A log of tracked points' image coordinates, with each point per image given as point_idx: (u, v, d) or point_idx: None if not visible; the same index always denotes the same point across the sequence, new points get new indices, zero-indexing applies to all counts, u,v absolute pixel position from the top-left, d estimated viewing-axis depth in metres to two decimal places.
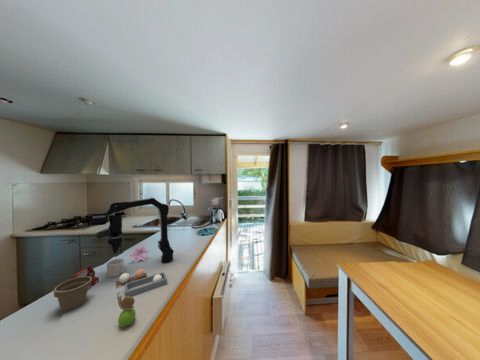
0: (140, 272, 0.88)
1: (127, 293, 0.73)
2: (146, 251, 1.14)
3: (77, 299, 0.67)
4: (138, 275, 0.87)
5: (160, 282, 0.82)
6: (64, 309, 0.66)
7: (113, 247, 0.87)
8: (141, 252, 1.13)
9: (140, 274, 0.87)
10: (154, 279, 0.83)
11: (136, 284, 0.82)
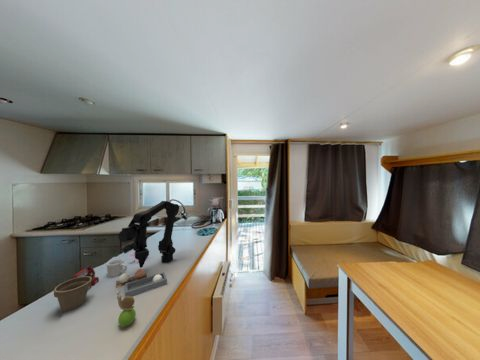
0: (140, 272, 0.88)
1: (127, 293, 0.73)
2: None
3: (77, 299, 0.67)
4: (138, 275, 0.87)
5: (160, 282, 0.82)
6: (64, 309, 0.66)
7: (139, 261, 0.84)
8: None
9: (140, 274, 0.87)
10: (154, 279, 0.83)
11: (136, 284, 0.82)
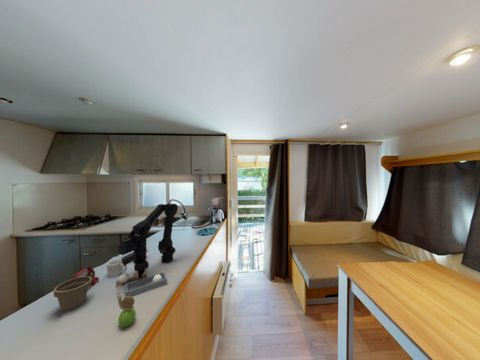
0: None
1: (127, 293, 0.73)
2: (146, 251, 1.14)
3: (77, 299, 0.67)
4: (138, 275, 0.87)
5: (160, 282, 0.82)
6: (64, 309, 0.66)
7: (139, 272, 0.86)
8: None
9: None
10: (154, 279, 0.83)
11: (136, 284, 0.82)
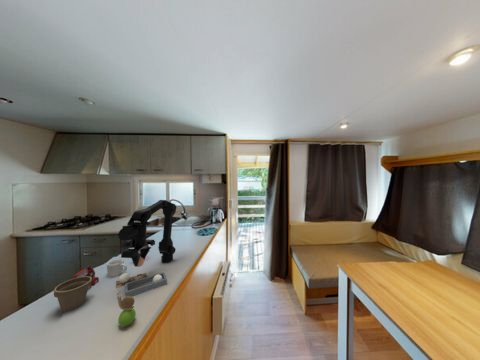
0: None
1: (127, 293, 0.73)
2: None
3: (77, 299, 0.67)
4: None
5: (160, 282, 0.82)
6: (64, 309, 0.66)
7: (133, 260, 0.82)
8: None
9: None
10: (154, 279, 0.83)
11: (136, 284, 0.82)
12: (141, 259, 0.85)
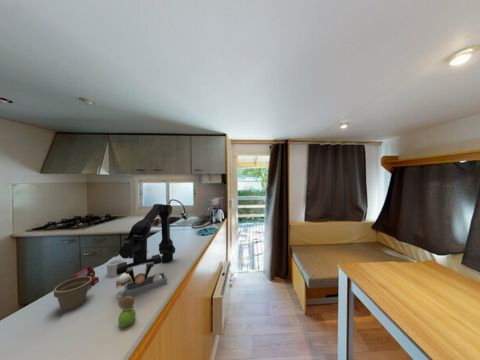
0: None
1: (127, 293, 0.73)
2: (147, 251, 1.14)
3: (77, 299, 0.67)
4: None
5: (160, 282, 0.82)
6: (64, 309, 0.66)
7: None
8: None
9: None
10: (154, 279, 0.83)
11: (136, 284, 0.82)
12: (139, 276, 0.78)
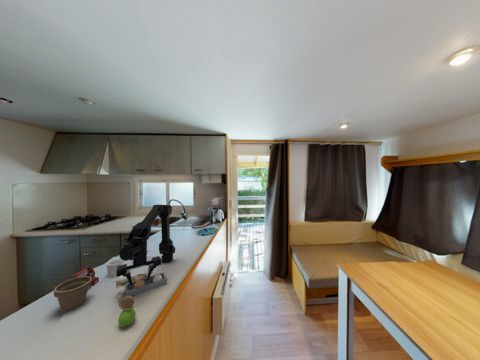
0: (135, 283, 0.79)
1: (127, 293, 0.73)
2: (147, 251, 1.14)
3: (77, 299, 0.67)
4: None
5: (160, 282, 0.82)
6: (64, 309, 0.66)
7: None
8: None
9: (134, 285, 0.78)
10: (154, 279, 0.83)
11: None
12: (139, 283, 0.78)
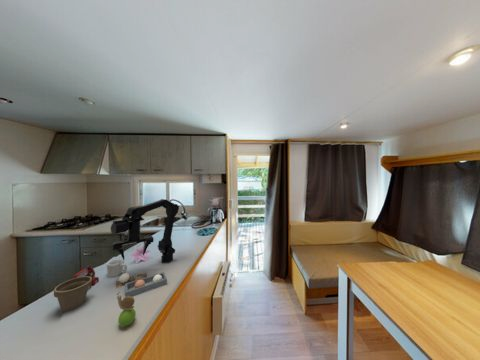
0: (135, 283, 0.79)
1: (127, 293, 0.73)
2: (147, 251, 1.14)
3: (77, 299, 0.67)
4: None
5: (160, 282, 0.82)
6: (64, 309, 0.66)
7: None
8: (142, 252, 1.12)
9: (134, 285, 0.78)
10: (154, 279, 0.83)
11: None
12: (139, 283, 0.78)
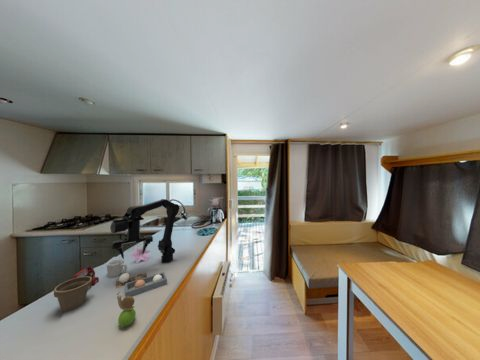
0: (135, 283, 0.79)
1: (127, 293, 0.73)
2: (147, 251, 1.14)
3: (77, 299, 0.67)
4: None
5: (160, 282, 0.82)
6: (64, 309, 0.66)
7: None
8: None
9: (134, 286, 0.78)
10: (154, 279, 0.83)
11: None
12: (139, 283, 0.78)
